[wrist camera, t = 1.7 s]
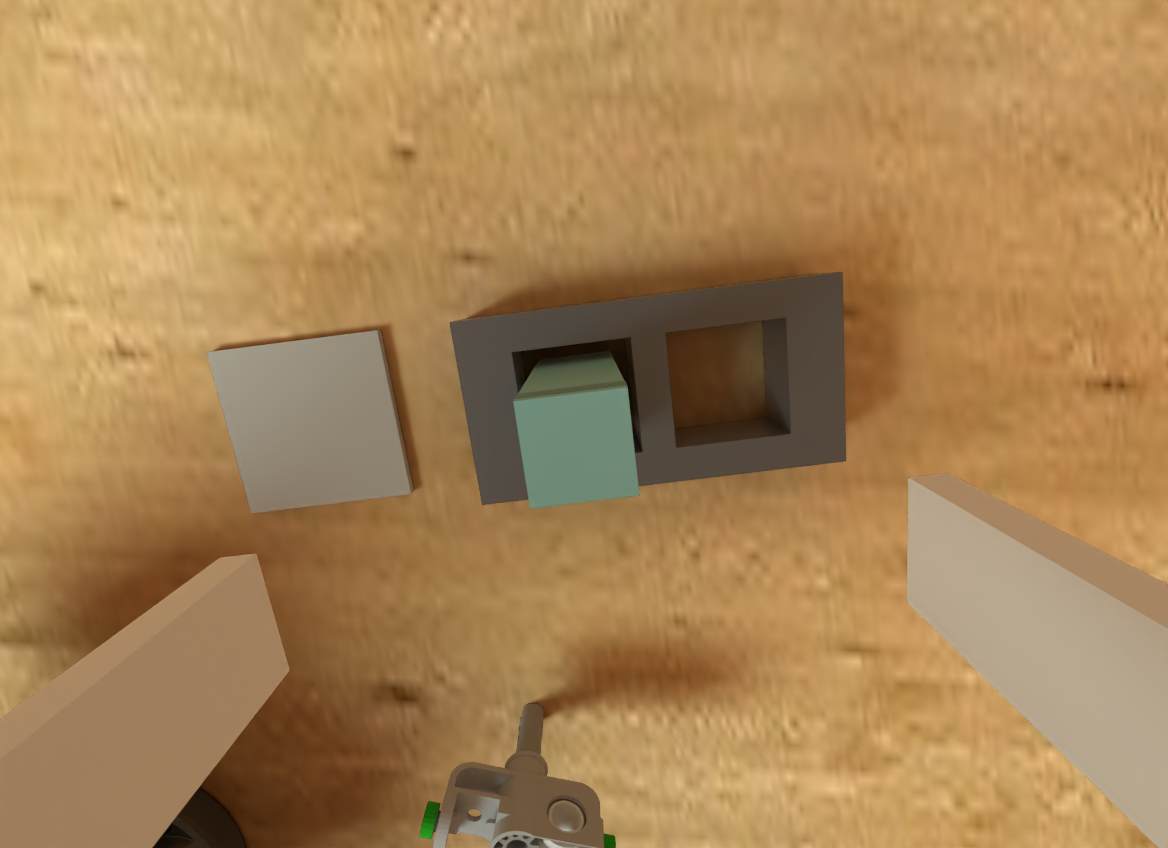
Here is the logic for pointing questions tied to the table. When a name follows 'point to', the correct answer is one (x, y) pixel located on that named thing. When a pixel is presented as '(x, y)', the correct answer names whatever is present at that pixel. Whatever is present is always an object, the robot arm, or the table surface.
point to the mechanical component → (518, 801)
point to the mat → (313, 421)
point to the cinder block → (663, 454)
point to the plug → (576, 431)
